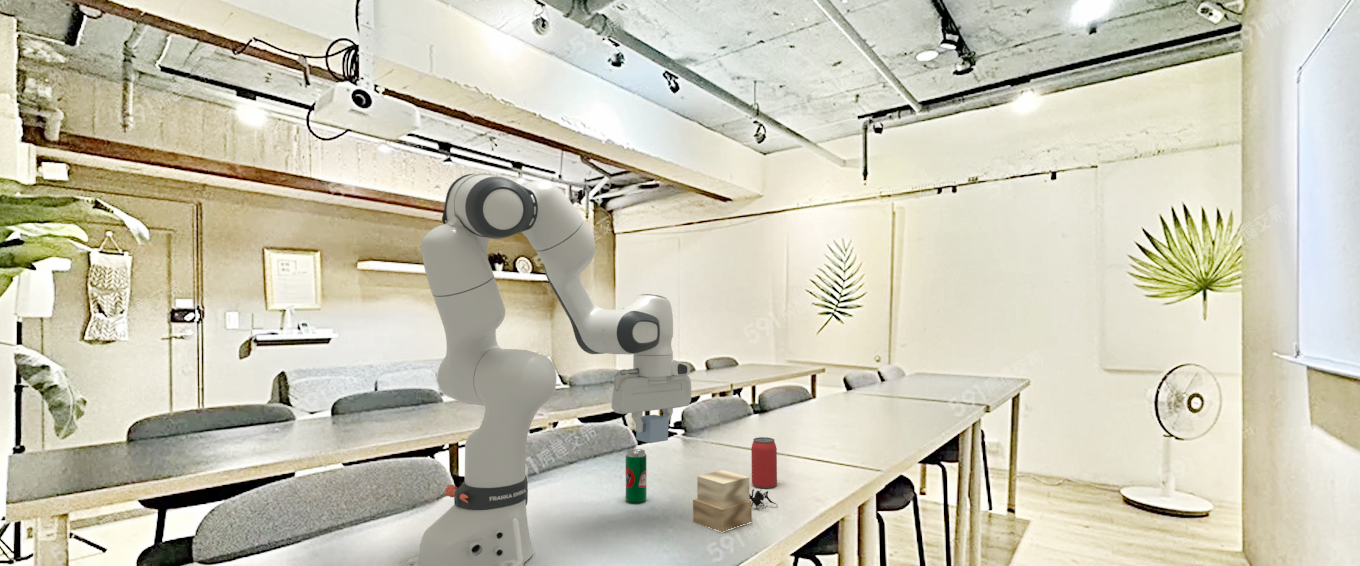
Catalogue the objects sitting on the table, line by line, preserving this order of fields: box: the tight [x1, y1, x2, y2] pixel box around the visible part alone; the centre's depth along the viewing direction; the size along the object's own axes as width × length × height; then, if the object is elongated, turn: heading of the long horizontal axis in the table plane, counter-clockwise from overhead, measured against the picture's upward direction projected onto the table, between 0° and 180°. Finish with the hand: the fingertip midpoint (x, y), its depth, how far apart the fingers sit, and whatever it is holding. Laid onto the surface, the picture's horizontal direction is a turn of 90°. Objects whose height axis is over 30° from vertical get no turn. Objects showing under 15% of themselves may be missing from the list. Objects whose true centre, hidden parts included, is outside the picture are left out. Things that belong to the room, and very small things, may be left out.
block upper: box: [696, 469, 750, 508], centre depth 135 cm, size 8×8×5 cm
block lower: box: [692, 498, 753, 532], centre depth 134 cm, size 9×9×5 cm
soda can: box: [625, 448, 648, 504], centre depth 149 cm, size 5×5×12 cm
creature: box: [749, 486, 779, 509], centre depth 145 cm, size 8×5×8 cm
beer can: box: [751, 436, 778, 489], centre depth 162 cm, size 7×7×12 cm
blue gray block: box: [635, 414, 669, 444], centre depth 137 cm, size 5×5×5 cm
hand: (652, 430), depth 137 cm, fingers closed on blue gray block, 5 cm apart
